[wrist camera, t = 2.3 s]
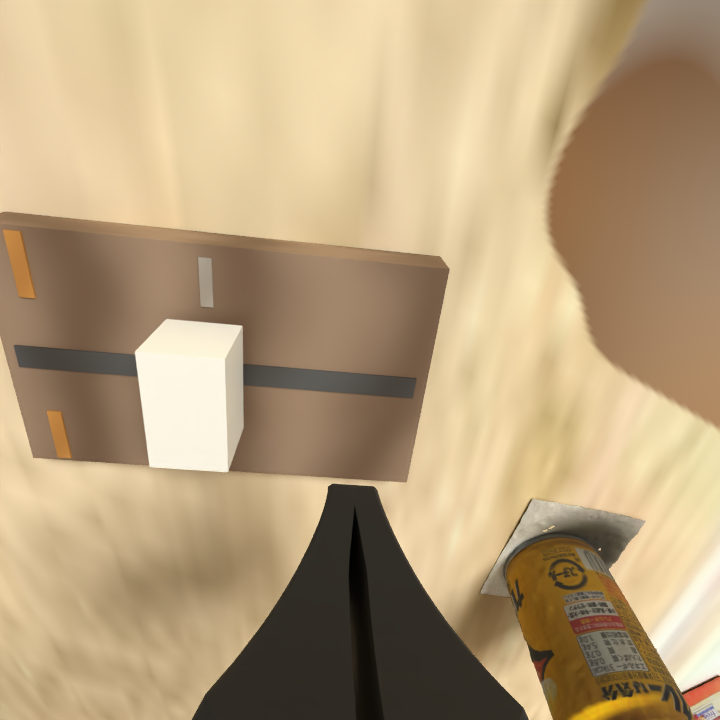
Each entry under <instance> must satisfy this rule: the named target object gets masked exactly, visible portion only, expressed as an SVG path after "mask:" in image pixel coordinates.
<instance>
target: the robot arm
mask: <svg viewBox="0 0 720 720" xmlns="http://www.w3.org/2000/svg"><path fill="white" fill-rule="evenodd" d="M192 720H529V719H528V717H527V715H526V712H525V710H524V708H523V707H522V706H521V705H520V704H519V703H518V702H517V701H516V700H515V699H514V698H513V697H512V696H511V695H510V694H509V693H508V692H507V691H506V690H505V689H504V688H503V687H502V686H501V685H500V684H499V683H498V682H497V680H496V679H495V678H494V677H493V676H492V675H491V674H490V673H489V672H488V671H487V670H486V669H485V667H484V666H483V665H482V664H481V663H480V662H479V661H478V659H477V658H476V657H475V656H474V655H473V654H472V653H471V651H470V650H469V649H468V648H467V646H466V645H465V644H464V643H463V641H462V640H461V639H460V638H459V636H458V635H457V634H456V633H455V631H454V630H453V629H452V628H451V626H450V625H449V624H448V622H447V621H446V620H445V618H444V617H443V616H442V614H441V613H440V611H439V610H438V609H437V607H436V606H435V604H434V603H433V601H432V600H431V598H430V597H429V595H428V594H427V592H426V591H425V589H424V588H423V586H422V584H421V583H420V581H419V580H418V578H417V576H416V575H415V573H414V571H413V569H412V567H411V566H410V564H409V562H408V560H407V559H406V557H405V555H404V553H403V551H402V549H401V547H400V545H399V543H398V541H397V539H396V537H395V535H394V533H393V531H392V528H391V526H390V524H389V521H388V519H387V517H386V514H385V512H384V509H383V507H382V504H381V501H380V498H379V495H378V491H377V489H376V488H375V487H373V486H358V485H343V484H331V485H330V486H328V494H327V499H326V503H325V506H324V509H323V512H322V515H321V518H320V521H319V523H318V526H317V528H316V531H315V533H314V535H313V538H312V540H311V542H310V545H309V547H308V549H307V551H306V553H305V555H304V557H303V559H302V561H301V563H300V565H299V567H298V568H297V570H296V572H295V574H294V576H293V577H292V579H291V581H290V583H289V584H288V586H287V588H286V589H285V591H284V593H283V594H282V596H281V597H280V599H279V600H278V602H277V603H276V605H275V607H274V608H273V610H272V611H271V613H270V614H269V616H268V617H267V618H266V620H265V621H264V623H263V624H262V626H261V627H260V628H259V630H258V631H257V632H256V634H255V635H254V636H253V638H252V639H251V640H250V641H249V643H248V644H247V645H246V647H245V648H244V649H243V651H242V652H241V653H240V655H239V656H238V657H237V658H236V660H235V661H234V662H233V663H232V664H231V666H230V667H229V668H228V669H227V670H226V671H225V672H224V674H223V675H222V676H221V677H220V678H219V679H218V680H217V682H216V683H215V684H214V685H213V686H212V687H211V689H210V690H209V691H208V692H207V693H206V694H205V696H204V698H203V700H202V702H201V704H200V705H199V707H198V709H197V711H196V713H195V715H194V717H193V719H192Z"/></svg>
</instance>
